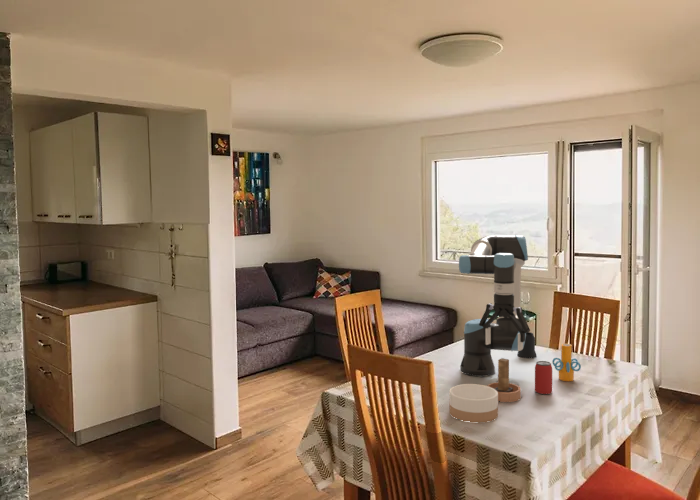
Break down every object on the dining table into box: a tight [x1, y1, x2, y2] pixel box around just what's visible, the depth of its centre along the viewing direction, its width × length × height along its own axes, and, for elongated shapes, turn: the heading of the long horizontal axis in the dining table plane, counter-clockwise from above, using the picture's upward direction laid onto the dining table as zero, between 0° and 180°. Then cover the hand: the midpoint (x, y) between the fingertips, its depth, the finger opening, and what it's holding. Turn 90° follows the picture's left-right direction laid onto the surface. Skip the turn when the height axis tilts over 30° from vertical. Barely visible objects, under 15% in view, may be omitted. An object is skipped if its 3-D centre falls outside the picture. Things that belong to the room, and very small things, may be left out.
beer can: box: [534, 360, 553, 395], centre depth 221 cm, size 7×7×12 cm
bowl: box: [448, 383, 499, 423], centre depth 200 cm, size 17×17×8 cm
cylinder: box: [551, 343, 582, 382], centre depth 235 cm, size 12×10×15 cm
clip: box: [495, 387, 513, 393], centre depth 217 cm, size 5×5×2 cm
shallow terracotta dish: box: [486, 381, 522, 403], centre depth 217 cm, size 13×13×4 cm
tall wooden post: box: [497, 357, 510, 391], centre depth 217 cm, size 3×3×14 cm
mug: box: [516, 331, 538, 359], centre depth 273 cm, size 12×9×11 cm
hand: (503, 347), depth 216 cm, fingers open, 13 cm apart
